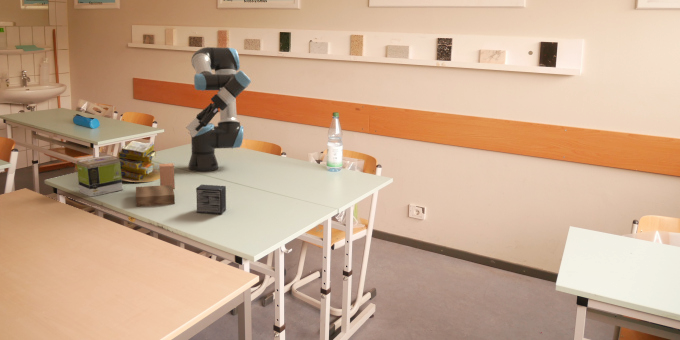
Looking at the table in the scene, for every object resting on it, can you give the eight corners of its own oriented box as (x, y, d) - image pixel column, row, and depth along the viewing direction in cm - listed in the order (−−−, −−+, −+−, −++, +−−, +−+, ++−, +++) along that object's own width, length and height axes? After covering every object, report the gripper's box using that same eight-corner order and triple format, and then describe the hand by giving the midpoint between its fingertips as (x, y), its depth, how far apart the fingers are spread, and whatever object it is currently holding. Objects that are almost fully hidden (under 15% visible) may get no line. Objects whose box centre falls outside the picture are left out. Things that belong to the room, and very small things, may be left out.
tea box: (111, 185, 247) (109, 154, 243) (123, 190, 241) (121, 158, 237) (78, 192, 236) (75, 159, 232) (89, 197, 229) (87, 163, 226)
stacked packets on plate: (172, 173, 271) (171, 141, 267) (142, 186, 248) (140, 150, 244) (130, 168, 278) (128, 136, 274) (96, 180, 255) (94, 145, 250)
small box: (226, 209, 222) (226, 185, 219) (221, 215, 215) (221, 189, 213) (201, 208, 222) (201, 183, 220) (196, 213, 216) (195, 188, 214)
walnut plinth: (172, 193, 239) (172, 184, 238) (174, 203, 226) (174, 194, 225) (136, 195, 234) (135, 186, 233) (136, 206, 221) (136, 197, 220)
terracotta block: (174, 186, 250) (173, 163, 248) (174, 189, 246) (173, 165, 243) (160, 187, 248) (159, 163, 245) (160, 190, 244) (159, 166, 241)
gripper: (212, 90, 255) (181, 122, 254) (220, 96, 233) (185, 131, 231) (224, 101, 258) (192, 132, 257) (232, 109, 236) (198, 143, 235)
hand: (189, 132), depth 244 cm, fingers open, 13 cm apart
